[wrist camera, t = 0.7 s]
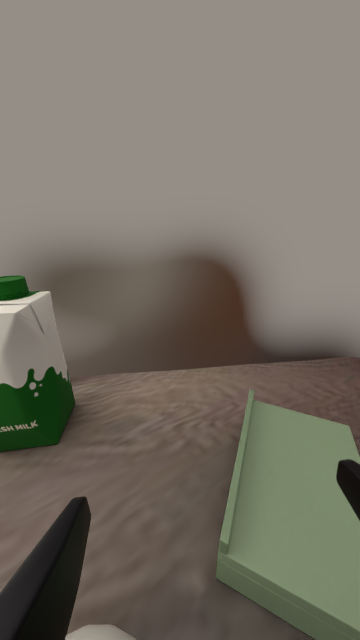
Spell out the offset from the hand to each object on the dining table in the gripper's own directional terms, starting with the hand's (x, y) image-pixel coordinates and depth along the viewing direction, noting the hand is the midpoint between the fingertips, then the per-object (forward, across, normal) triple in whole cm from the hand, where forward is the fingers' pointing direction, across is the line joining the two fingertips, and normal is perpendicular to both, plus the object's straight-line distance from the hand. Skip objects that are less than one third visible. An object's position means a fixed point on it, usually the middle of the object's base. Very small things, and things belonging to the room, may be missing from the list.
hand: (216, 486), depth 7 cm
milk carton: (+21, +20, +13) cm, 32 cm away
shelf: (+9, -9, +16) cm, 20 cm away
